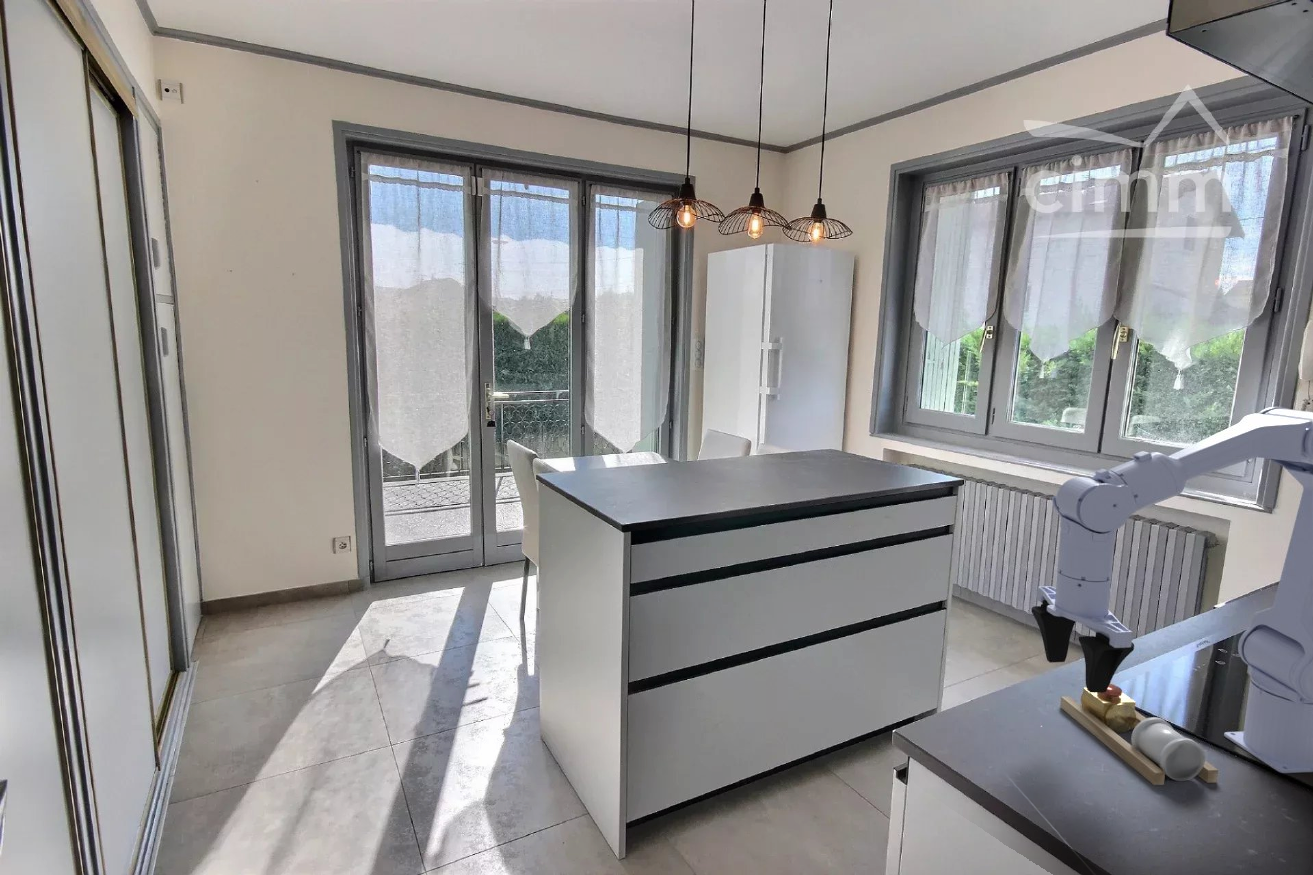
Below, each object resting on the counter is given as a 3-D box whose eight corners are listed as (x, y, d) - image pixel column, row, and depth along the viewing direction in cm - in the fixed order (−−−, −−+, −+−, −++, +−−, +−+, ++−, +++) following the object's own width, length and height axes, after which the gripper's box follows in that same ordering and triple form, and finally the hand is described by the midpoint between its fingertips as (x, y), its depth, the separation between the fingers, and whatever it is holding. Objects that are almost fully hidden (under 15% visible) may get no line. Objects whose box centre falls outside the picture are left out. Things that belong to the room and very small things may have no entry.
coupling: (1129, 755, 84) (1133, 717, 83) (1168, 754, 84) (1172, 716, 84) (1161, 781, 79) (1165, 741, 78) (1202, 779, 80) (1207, 739, 79)
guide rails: (1112, 704, 96) (1113, 694, 96) (1216, 782, 79) (1218, 769, 79) (1060, 706, 95) (1061, 696, 95) (1154, 785, 79) (1155, 772, 78)
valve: (1078, 711, 94) (1081, 678, 93) (1108, 710, 94) (1111, 677, 94) (1104, 733, 89) (1107, 698, 88) (1136, 731, 89) (1139, 697, 89)
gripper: (1018, 556, 90) (1011, 650, 92) (1094, 597, 76) (1085, 707, 78) (1068, 554, 91) (1060, 648, 92) (1153, 594, 76) (1142, 704, 78)
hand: (1075, 675), depth 85 cm, fingers open, 7 cm apart
